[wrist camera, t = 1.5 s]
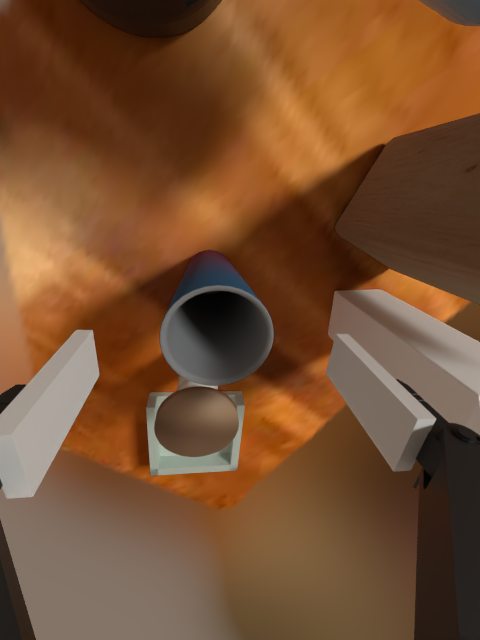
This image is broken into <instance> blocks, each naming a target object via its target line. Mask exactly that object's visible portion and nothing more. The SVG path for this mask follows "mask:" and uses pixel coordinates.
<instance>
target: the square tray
mask: <svg viewBox="0 0 480 640" xmlns="http://www.w3.org/2000/svg"><path fill="white" fill-rule="evenodd" d="M222 392H223V393H225V394H226V395H228V396H229V397H230V398H231V399H232V401H233V402H234V404H235V406H236V409H237V413H238V419H239V428H238V431H237V434H236V436H235V438H234V439H233V440H232V442H231V443H230V444H229V445H227V446H226V447H225V448H223V449H222V450H220V451H218V452H216V453H213V454H211V455H207V456H202V457H185V456H180V455H177V454H174V453H172V452H170V451H168V450H167V449H165V448H164V447H163V446H162V445H161V444H160V443H159V441H158V440H157V438H156V435H155V431H154V424H155V419H156V414H157V411H158V408H159V406H160V405H161V403H162V402H163V401H164V400H165V399H166V398H167V397H168V396H169V395H171V394H172V393H174V392H150V394H149V398H148V402H147V406H146V415H147V430H148V445H149V460H150V475H151V476H152V475H168V474H185V473H201V472H217V471H234V470H237V466H238V457H239V449H240V441H241V433H242V425H243V417H244V409H245V403H244V399H243V394H242V391H222Z"/></svg>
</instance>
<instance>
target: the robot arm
mask: <svg viewBox="0 0 480 640" xmlns="http://www.w3.org/2000/svg"><path fill="white" fill-rule="evenodd" d="M79 1H80V2H82V3H83V4H84V5H85V6H86V7H87V8H88V9H89V10H91V11H92V12H93V13H94V14H95V15H97V16H98V17H100V18H101V19H103V20H104V21H106V22H107V23H109V24H111V25H112V26H114V27H116V28H118V29H120V30H123V31H125V32H128V33H131V34H134V35H138V36H143V37H152V38H160V37H169V36H174V35H178V34H181V33H183V32H186V31H188V30H190V29H192V28H193V27H195V26H197V25H198V24H199V23H201V22H202V21H203V20H205V19H206V18H207V17H208V16H209V15H210V14H211V13H212V12H213V11H214V10H215V8H216V7H217V6H218V5H219V3H220V2H221V0H79ZM419 1H420V2H422V3H423V4H425V5H427V6H428V7H430V8H431V9H433V10H434V11H436V12H438V13H439V14H440V15H442V16H443V17H445V18H446V19H447V20H449V21H451V22H454V23H456V24H461V25H465V26H480V0H419ZM326 374H327V376H328V377H329V379H330V380H331V382H332V383H333V385H334V386H335V387H336V389H337V390H338V392H339V393H340V395H341V396H342V398H343V399H344V400H345V402H346V403H347V405H348V406H349V407H350V409H351V411H352V412H353V413H354V415H355V416H356V417H357V419H358V421H359V422H360V424H361V425H362V426H363V428H364V429H365V431H366V432H367V434H368V435H369V436H370V438H371V439H372V441H373V442H374V444H375V445H376V446H377V448H378V449H379V451H380V452H381V454H382V455H383V456H384V458H385V460H386V461H387V462H388V464H389V465H390V467H391V468H392V470H393V471H407V470H411V469H412V467H413V465H414V463H415V461H416V460H417V461H418V462H419V463H420V465H421V466H422V469H421V472H420V473H419V475H418V477H417V479H416V481H415V483H414V485H413V487H414V488H416V487H417V485H419V506H418V537H417V539H418V540H417V568H416V569H417V570H416V599H415V630H414V640H480V435H479V434H477V433H476V432H474V431H473V430H471V429H469V428H467V427H465V426H463V425H460V424H456V423H449V422H448V421H447V420H445V419H444V418H443V417H442V416H441V415H440V414H439V413H438V412H437V411H436V410H435V409H434V408H432V407H431V406H430V405H429V404H428V403H427V402H426V401H424V399H423V398H422V397H421V396H420V395H417V393H416V392H415V391H414V390H413V389H412V388H411V387H410V386H409V385H407V384H405V383H404V382H402V381H400V380H399V379H395V378H394V377H392V376H391V375H390V374H389V373H388V372H387V371H386V370H385V369H384V368H383V367H382V366H381V365H380V364H379V363H378V362H377V361H376V360H375V359H374V358H373V357H372V356H371V355H370V354H368V353H367V352H366V351H365V350H364V349H363V348H362V347H361V346H360V345H359V344H358V343H357V342H356V341H355V340H354V339H353V338H352V337H351V336H350V335H349V334H336V335H335V339H334V343H333V347H332V351H331V355H330V359H329V362H328V366H327V370H326ZM98 377H99V368H98V361H97V355H96V348H95V342H94V335H93V330H76V331H75V332H74V333H73V334H72V335H71V336H70V337H69V338H68V340H67V341H66V342H65V343H64V344H63V345H62V346H61V347H60V348H59V350H58V351H57V352H56V353H55V354H54V355H53V356H52V357H51V358H50V360H49V361H48V362H47V363H46V364H45V365H44V366H43V367H42V369H41V370H40V371H39V372H38V373H37V374H36V375H35V376H34V377H33V379H32V380H31V381H30V382H29V383H28V384H27V385H15V386H14V387H12V388H10V389H9V390H7V391H5V392H4V393H2V394H1V395H0V489H1V487H2V488H3V491H4V493H5V495H6V498H21V497H33V496H34V494H35V492H36V490H37V488H38V486H39V484H40V483H41V481H42V479H43V477H44V475H45V474H46V472H47V470H48V468H49V466H50V465H51V463H52V461H53V459H54V457H55V456H56V454H57V452H58V450H59V448H60V446H61V445H62V443H63V441H64V439H65V437H66V435H67V434H68V432H69V430H70V428H71V426H72V425H73V423H74V421H75V419H76V417H77V415H78V414H79V412H80V410H81V408H82V406H83V404H84V403H85V401H86V399H87V397H88V395H89V394H90V392H91V390H92V388H93V386H94V384H95V383H96V381H97V379H98ZM0 640H36V638H35V635H34V631H33V628H32V625H31V621H30V618H29V615H28V611H27V608H26V605H25V601H24V598H23V595H22V591H21V588H20V584H19V581H18V578H17V575H16V571H15V568H14V564H13V561H12V557H11V554H10V551H9V548H8V544H7V541H6V537H5V534H4V531H3V527H2V524H1V521H0Z"/></svg>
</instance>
